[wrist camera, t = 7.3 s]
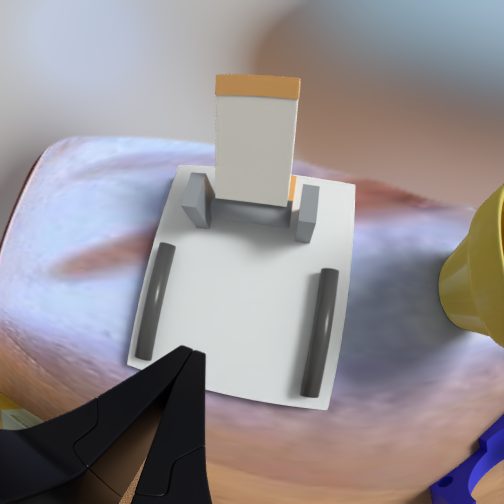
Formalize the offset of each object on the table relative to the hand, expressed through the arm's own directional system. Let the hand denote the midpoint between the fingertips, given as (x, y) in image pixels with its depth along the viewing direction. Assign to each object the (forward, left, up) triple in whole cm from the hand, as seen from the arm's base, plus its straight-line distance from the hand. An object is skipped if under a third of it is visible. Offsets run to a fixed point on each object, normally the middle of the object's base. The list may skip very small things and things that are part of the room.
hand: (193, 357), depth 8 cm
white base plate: (+2, +4, -11) cm, 12 cm away
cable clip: (+14, -22, -11) cm, 28 cm away
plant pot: (+18, -6, -11) cm, 22 cm away
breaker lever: (+5, +7, -8) cm, 12 cm away
